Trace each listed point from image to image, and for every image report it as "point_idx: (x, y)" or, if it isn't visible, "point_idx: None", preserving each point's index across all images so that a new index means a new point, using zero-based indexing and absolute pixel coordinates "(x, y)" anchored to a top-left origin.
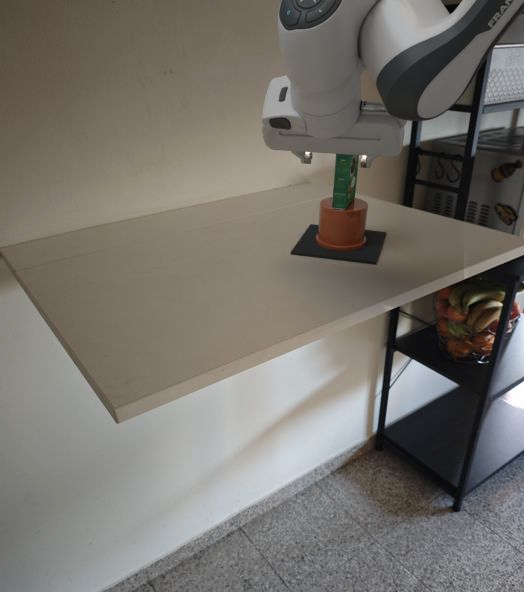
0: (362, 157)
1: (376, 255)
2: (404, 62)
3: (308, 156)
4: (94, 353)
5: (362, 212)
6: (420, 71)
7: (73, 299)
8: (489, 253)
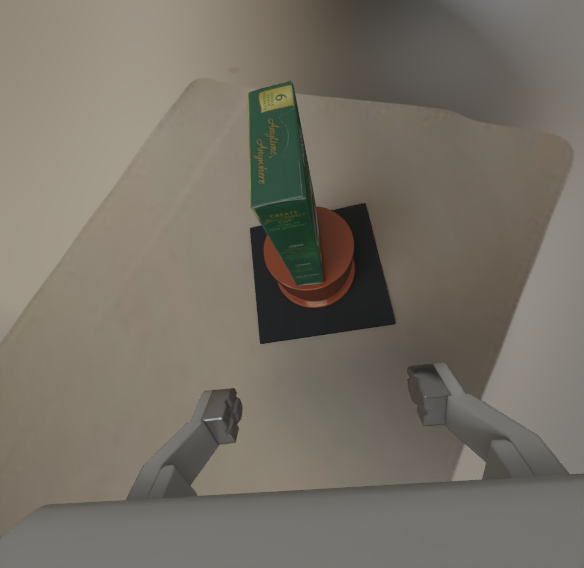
0: (429, 413)
1: (385, 298)
2: None
3: (228, 437)
4: None
5: (351, 261)
6: None
7: None
8: (542, 200)
